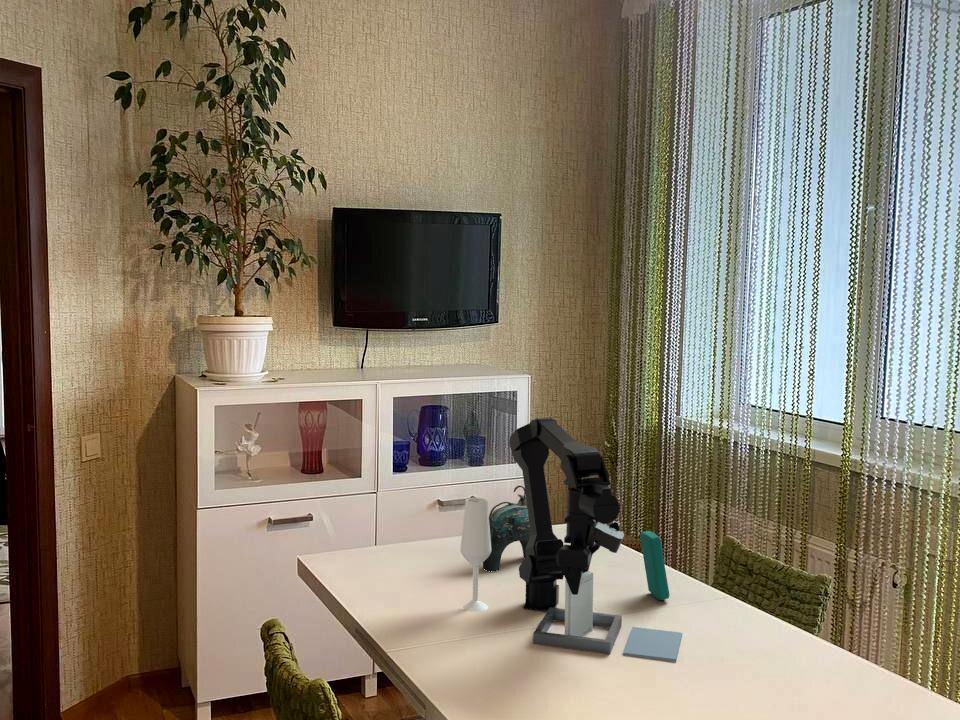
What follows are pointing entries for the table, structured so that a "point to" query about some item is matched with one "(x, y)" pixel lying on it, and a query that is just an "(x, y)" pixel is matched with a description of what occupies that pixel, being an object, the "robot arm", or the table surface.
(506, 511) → the green bronze animal figure
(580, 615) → the hard drive
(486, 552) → the champagne flute
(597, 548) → the robot arm
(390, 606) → the table surface
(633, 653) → the mat
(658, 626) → the table surface
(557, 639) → the gray square frame
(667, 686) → the table surface
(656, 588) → the digital multimeter
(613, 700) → the table surface
